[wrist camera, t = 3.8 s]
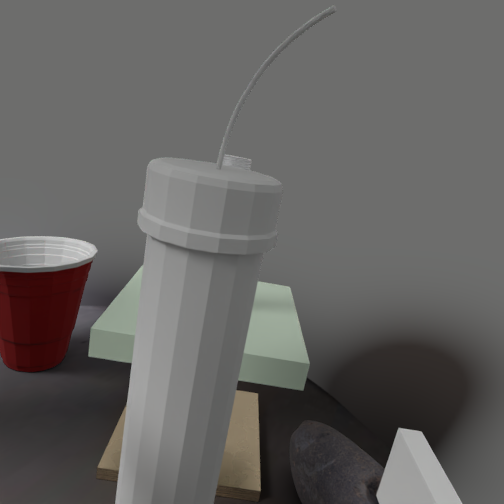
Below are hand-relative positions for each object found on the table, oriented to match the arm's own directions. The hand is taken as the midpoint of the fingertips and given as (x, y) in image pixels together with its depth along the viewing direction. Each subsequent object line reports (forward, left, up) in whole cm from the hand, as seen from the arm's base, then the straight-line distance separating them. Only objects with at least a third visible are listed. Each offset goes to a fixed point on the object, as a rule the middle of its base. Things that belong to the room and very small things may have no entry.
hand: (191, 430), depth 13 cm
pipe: (-3, +4, -17) cm, 17 cm away
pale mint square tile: (-10, +17, -6) cm, 20 cm away
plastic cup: (-29, +15, -17) cm, 37 cm away
